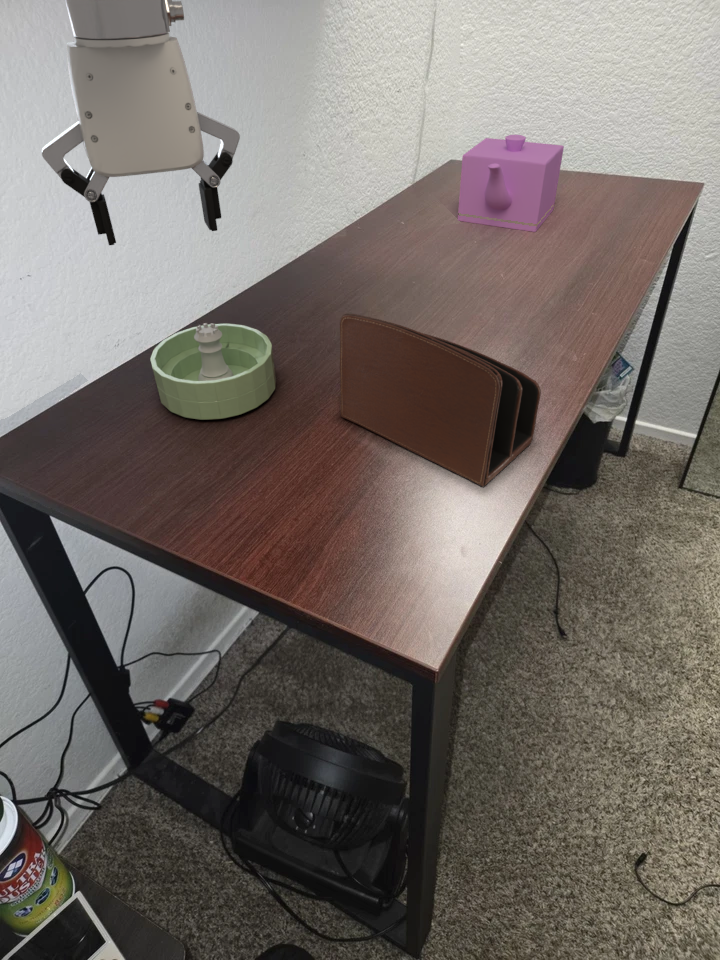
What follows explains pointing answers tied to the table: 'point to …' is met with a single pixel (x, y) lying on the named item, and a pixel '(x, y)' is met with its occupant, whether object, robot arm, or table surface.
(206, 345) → the rook chess piece
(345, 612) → the table surface
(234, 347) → the bowl
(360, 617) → the table surface
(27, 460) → the table surface
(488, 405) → the letter holder
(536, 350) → the table surface
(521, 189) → the teapot
